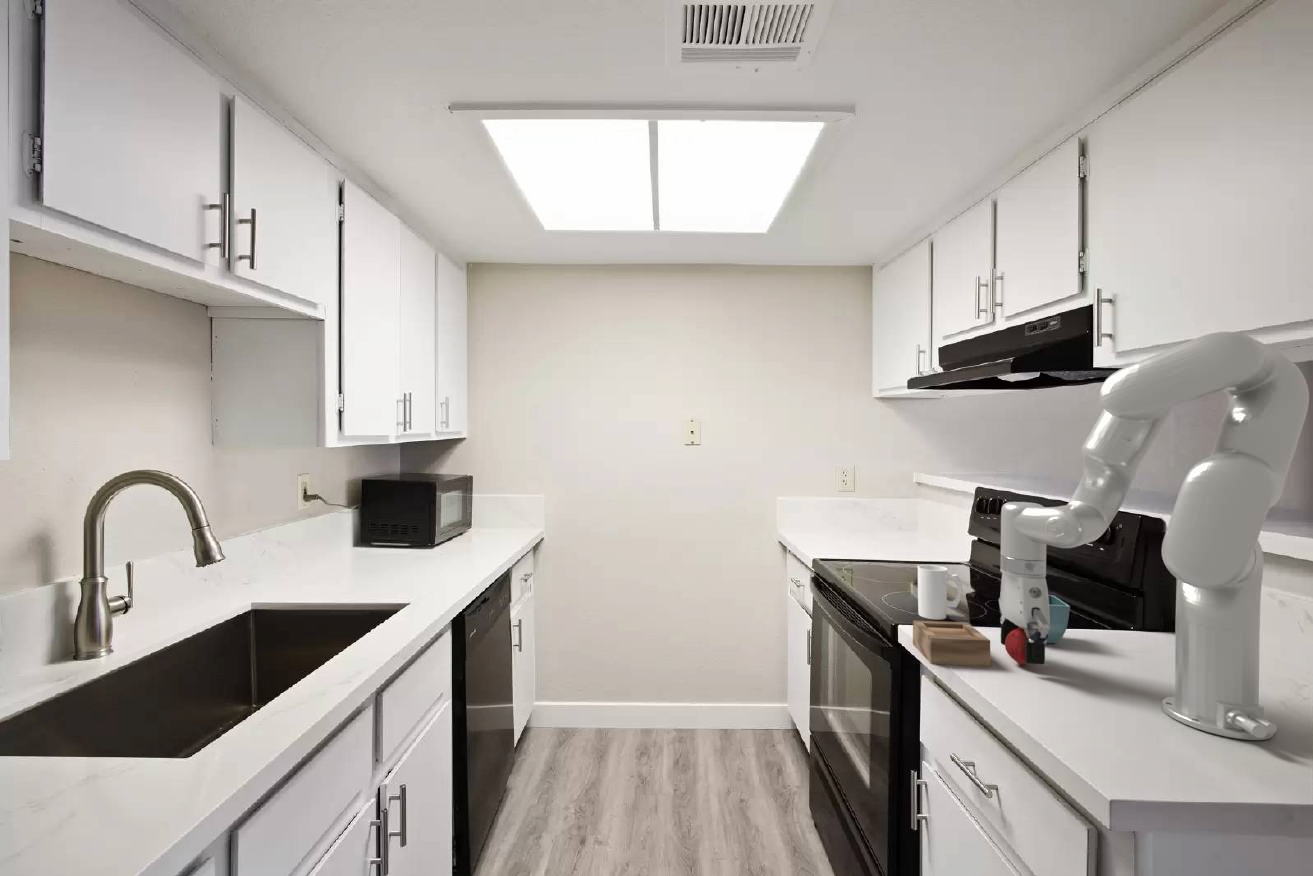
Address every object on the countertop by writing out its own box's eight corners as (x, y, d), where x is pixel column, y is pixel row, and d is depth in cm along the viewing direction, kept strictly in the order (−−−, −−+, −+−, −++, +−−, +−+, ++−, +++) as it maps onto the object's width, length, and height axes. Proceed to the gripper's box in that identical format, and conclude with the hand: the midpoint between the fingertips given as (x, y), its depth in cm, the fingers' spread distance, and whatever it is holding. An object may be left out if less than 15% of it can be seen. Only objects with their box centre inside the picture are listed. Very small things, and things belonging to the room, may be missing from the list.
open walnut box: (990, 666, 113) (990, 640, 113) (930, 663, 114) (930, 638, 114) (966, 646, 124) (967, 622, 124) (912, 643, 125) (913, 620, 125)
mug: (916, 617, 144) (916, 568, 144) (918, 610, 150) (918, 563, 150) (962, 624, 139) (962, 573, 139) (962, 616, 145) (962, 568, 145)
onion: (1045, 672, 110) (1045, 630, 110) (1011, 669, 112) (1012, 628, 112) (1032, 660, 116) (1032, 620, 116) (1000, 658, 117) (1000, 618, 117)
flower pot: (1024, 645, 125) (1024, 603, 125) (1009, 631, 134) (1009, 592, 134) (1070, 648, 123) (1071, 606, 123) (1053, 635, 132) (1053, 595, 132)
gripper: (1069, 577, 105) (1068, 672, 105) (1021, 557, 122) (1020, 639, 122) (1024, 576, 106) (1023, 670, 106) (983, 556, 123) (982, 637, 123)
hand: (1021, 653), depth 114 cm, fingers open, 9 cm apart
